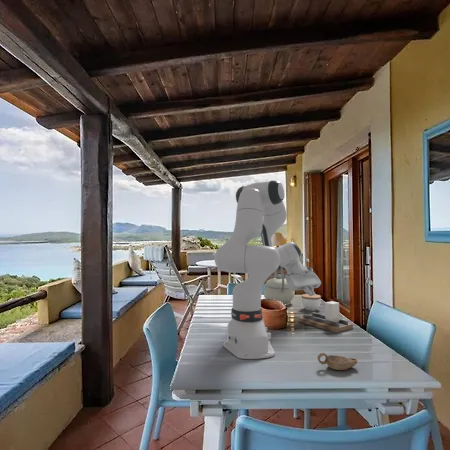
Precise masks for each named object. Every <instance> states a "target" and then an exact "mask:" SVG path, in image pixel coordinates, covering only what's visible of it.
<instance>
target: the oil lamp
mask: <svg viewBox="0 0 450 450" xmlns="http://www.w3.org/2000/svg"><path fill="white" fill-rule="evenodd" d="M323 356H324V357H325V358H324V359H325V360H321V357H323ZM317 361H318V362H319V364H321V365H325V364H327V366H328V368H330V369H332V370H335V371H345V370H349V369H350V368H351V369H352V368H353V367H355V366H356V365H357V364H358V359H357V358H355V357H351V358H349V357H346V356H341V355H334V354H333V355H330V354H329V355H327V354H326V353H324V352H320V353H319V354H318V355H317Z"/></svg>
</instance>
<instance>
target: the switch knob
mask: <svg viewBox="0 0 450 450" xmlns="http://www.w3.org/2000/svg"><path fill="white" fill-rule="evenodd" d="M324 306H325V307H324V313H325V314H324V315H325V320H329V321H333V322H336V323H337V322H339V319H340V302H337V301H333V300H331V301H325V302H324Z"/></svg>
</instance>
